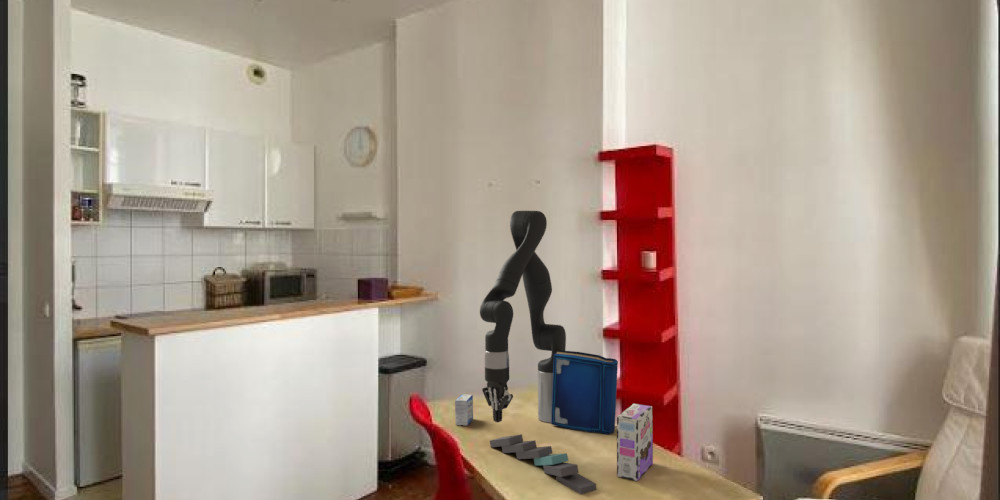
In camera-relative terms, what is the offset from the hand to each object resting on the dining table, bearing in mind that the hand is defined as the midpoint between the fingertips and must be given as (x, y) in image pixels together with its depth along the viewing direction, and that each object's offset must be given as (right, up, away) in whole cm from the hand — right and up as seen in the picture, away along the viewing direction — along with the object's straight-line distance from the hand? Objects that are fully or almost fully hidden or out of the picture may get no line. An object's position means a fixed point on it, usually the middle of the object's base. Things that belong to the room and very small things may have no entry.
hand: (497, 421), depth 172 cm
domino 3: (+7, -7, -9) cm, 13 cm away
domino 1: (0, -7, 0) cm, 7 cm away
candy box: (+38, -8, -19) cm, 43 cm away
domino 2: (+3, -7, -4) cm, 9 cm away
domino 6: (+18, -7, -24) cm, 30 cm away
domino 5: (+15, -7, -19) cm, 25 cm away
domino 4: (+13, -7, -14) cm, 20 cm away
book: (+29, -7, +15) cm, 34 cm away
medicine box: (-12, -8, +23) cm, 27 cm away
